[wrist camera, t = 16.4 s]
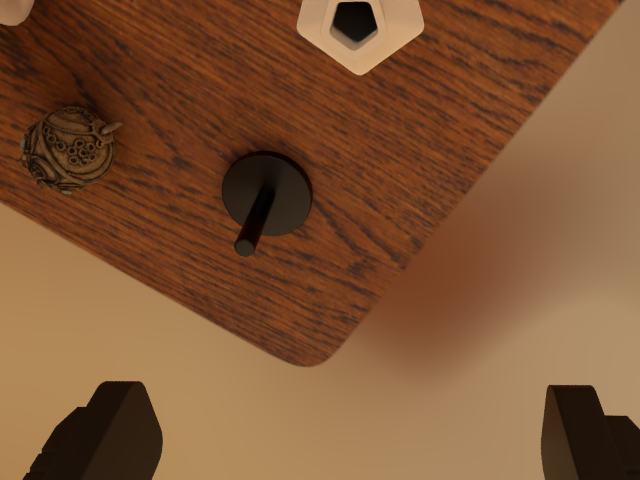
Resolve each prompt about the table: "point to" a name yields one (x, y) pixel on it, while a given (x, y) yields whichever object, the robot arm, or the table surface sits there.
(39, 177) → the pendant
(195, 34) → the table surface
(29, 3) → the figurine
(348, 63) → the perfume bottle
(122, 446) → the robot arm
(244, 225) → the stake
